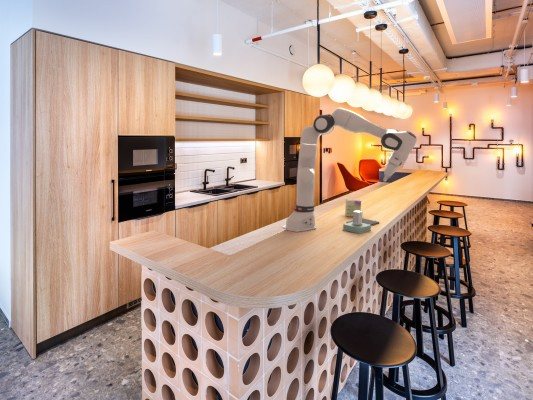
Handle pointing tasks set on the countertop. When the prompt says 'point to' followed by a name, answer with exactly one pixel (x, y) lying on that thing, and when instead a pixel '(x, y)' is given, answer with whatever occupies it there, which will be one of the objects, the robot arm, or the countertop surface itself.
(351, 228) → the block
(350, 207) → the box
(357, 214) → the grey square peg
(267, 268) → the countertop surface
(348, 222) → the mat
